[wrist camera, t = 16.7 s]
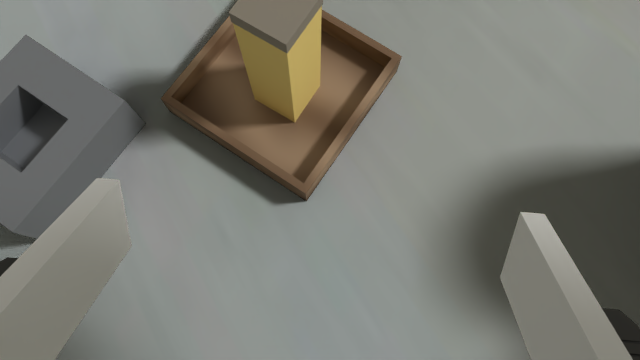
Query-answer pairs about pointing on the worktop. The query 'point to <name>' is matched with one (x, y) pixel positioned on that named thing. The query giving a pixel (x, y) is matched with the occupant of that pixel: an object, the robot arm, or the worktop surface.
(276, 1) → the plug
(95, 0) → the worktop surface
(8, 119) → the grey block with hole
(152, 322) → the worktop surface
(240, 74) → the tray
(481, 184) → the worktop surface
